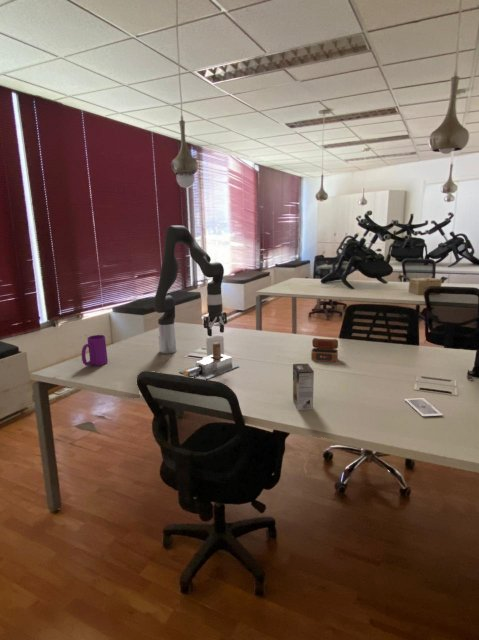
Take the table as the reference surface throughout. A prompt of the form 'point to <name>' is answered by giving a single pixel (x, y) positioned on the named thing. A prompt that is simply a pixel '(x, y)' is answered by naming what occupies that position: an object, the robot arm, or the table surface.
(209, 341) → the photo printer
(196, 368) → the lock pin
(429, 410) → the touchpad
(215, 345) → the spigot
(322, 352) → the box
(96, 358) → the mug
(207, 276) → the robot arm
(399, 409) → the table surface
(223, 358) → the dock
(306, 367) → the coffee box
